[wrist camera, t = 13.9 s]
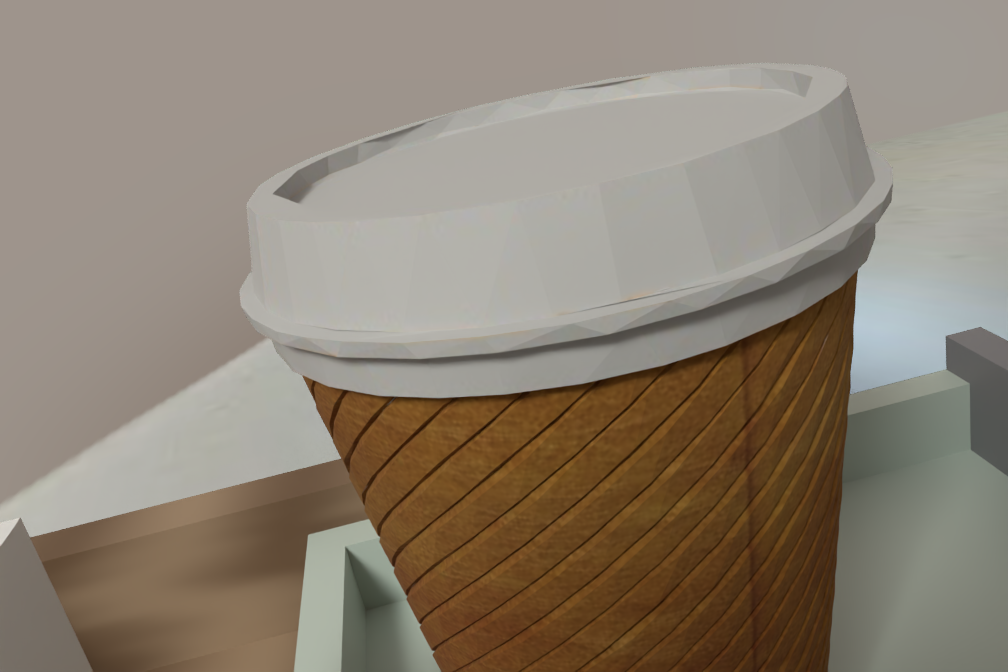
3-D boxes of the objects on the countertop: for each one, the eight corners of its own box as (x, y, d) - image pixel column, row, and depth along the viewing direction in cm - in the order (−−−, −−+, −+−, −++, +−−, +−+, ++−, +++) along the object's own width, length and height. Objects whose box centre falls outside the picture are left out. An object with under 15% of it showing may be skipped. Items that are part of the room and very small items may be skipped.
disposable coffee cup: (434, 617, 22) (296, 140, 18) (820, 554, 21) (774, 39, 17) (383, 1037, 13) (87, 297, 9) (1036, 956, 13) (1053, 105, 8)
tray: (981, 452, 26) (980, 327, 24) (1665, 939, 12) (1754, 722, 11) (338, 623, 24) (296, 501, 23) (307, 1376, 11) (204, 1196, 9)
